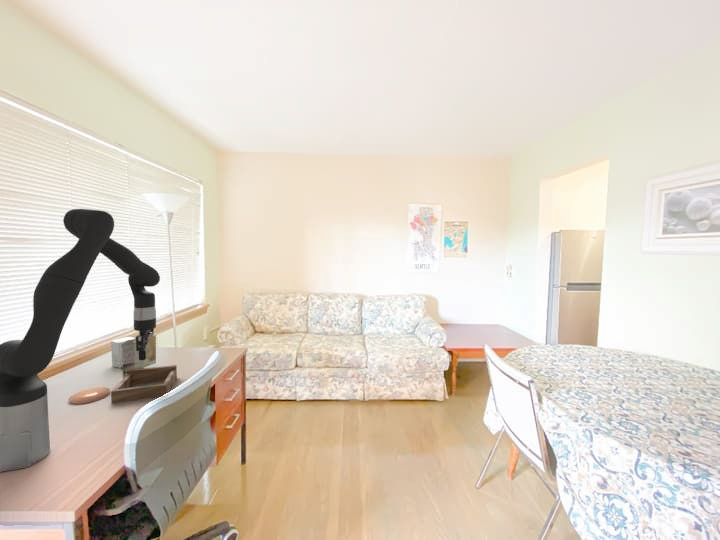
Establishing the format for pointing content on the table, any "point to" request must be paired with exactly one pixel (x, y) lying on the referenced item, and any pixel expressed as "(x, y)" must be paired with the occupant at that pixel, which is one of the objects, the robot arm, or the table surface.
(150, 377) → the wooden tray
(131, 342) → the coffee box
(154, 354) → the skincare box
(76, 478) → the table surface
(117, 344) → the small box
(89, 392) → the peach half ellipsoid
